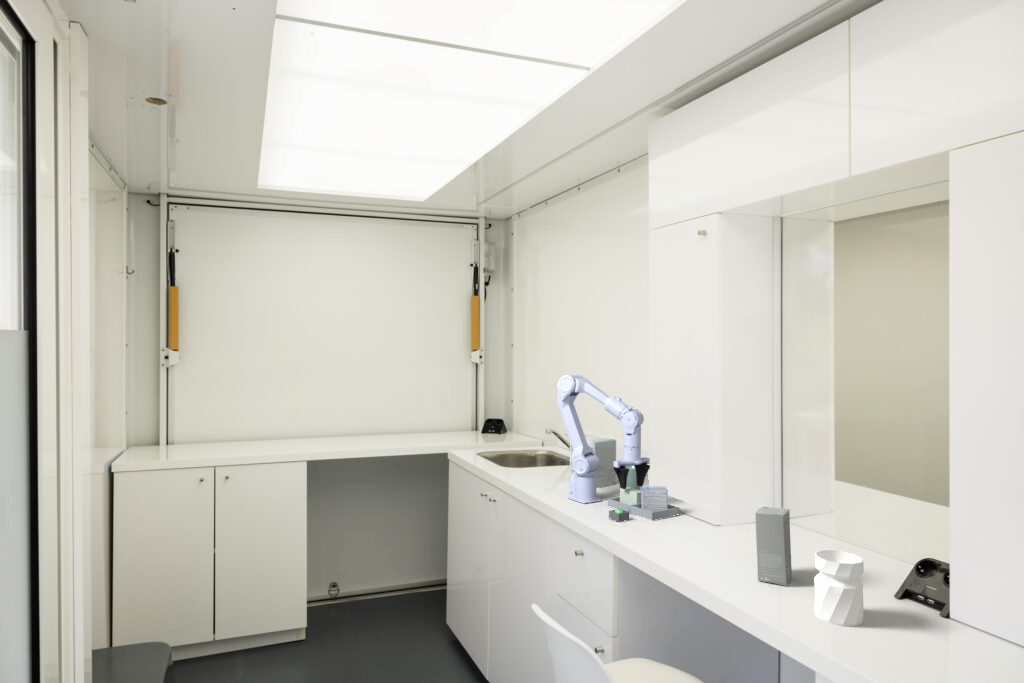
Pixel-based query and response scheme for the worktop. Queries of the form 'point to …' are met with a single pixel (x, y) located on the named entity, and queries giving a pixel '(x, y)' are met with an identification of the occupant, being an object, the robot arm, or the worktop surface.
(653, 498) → the medicine box
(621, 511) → the button
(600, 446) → the supplement box
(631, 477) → the cup
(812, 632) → the worktop surface
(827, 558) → the white faceted vase
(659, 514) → the grey divided tray
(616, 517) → the button housing
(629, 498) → the carton
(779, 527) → the skincare box
